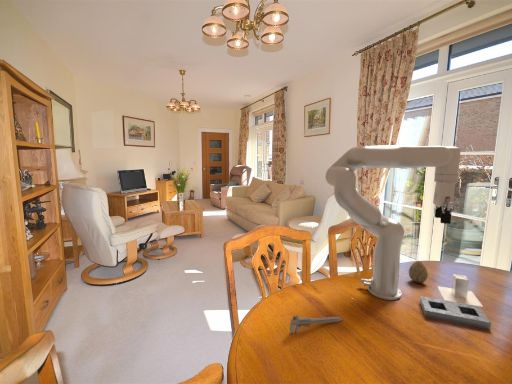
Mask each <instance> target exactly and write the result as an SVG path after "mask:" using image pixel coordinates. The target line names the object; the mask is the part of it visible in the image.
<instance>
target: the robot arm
mask: <svg viewBox="0 0 512 384" xmlns="http://www.w3.org/2000/svg"><path fill="white" fill-rule="evenodd" d="M460 158H461V149H460V147H458V146H445V145H434V146H433V145H432V146H431V145H428V146H427V145H426V146H424V145H423V146H419V145H416V146H414V145H413V146H412V145H411V146H410V145H362V146H354V147H352V148H350V149H348V150H347V151H346V152H345V153H343V155H342V156H341V157H340V158H338V159H337V160H336V161H335V162H334V163H332V165H331V166H329V168H328V169H327V170H326V172H325V181H326V183H327V184H329V186H332V187H334V190H333V191H334V192H333V193H334V198H335V201H336V203H337V204H338V205H339V206H340V207H341V208H342V209H343V210H344V211H345V212H346V213H347V215H348V216H349V218H350V219H351V220H353V221H354V222H355V223H356V224H357V225H359V226H360V227H361V228H363V229H364V230H366V231H367V232H368V233H370V234H371V235H372V236H375V237H376V238H377V240H376V243H375V245H374V248H373V263H372V264H373V265H372V266H373V267H372V268H373V271H372V277H371V278H369V279H367V278H362V277H361V279H360V283H361V284H363V286H365V287H367V290H368V292H369V293H370V294H371V295H372V296H374V297H376V298H379V299H382V300H388V301H394V300H395V301H396V300H399V299H401V297H402V296H403V293H402V290H401V289H400V288H399V276H400V264H401V263H400V261H401V260H400V259H401V250H402V244H403V240H404V237H405V229H404V228H405V227H403V226H404V225H402V223H400V221H399V220H396V219H394V218H392V217H389V216H387V215H385V214H383V213H381V210H380V209H379V208H378V207H377V205H376V204H374V203H372V202H370V201H369V200H368V199H367V198H366V197H364V196H362V194H361V193H359V192H358V190H357V187H356V186H357V183H356V182H357V176H356V172H355V171H356V170H357V169H358V168H359V169H390V168H391V169H397V168H398V169H400V168H401V169H402V168H403V169H404V168H430V167H431V168H432V167H433V168H435V169H434V182H435V187H434V193H433V201H432V203H433V204H434V205H435V208H434V218H437V219H440V223H441V224H450V225H451V223H452V212H453V211H452V208H453V206H454V200H455V184H457V183H458V182H459V172H460V171H459V170H460V160H461V159H460Z"/></svg>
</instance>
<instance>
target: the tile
mask: <svg viewBox="0 0 512 384" xmlns="http://www.w3.org/2000/svg"><path fill="white" fill-rule="evenodd" d="M436 289H438V291H439V293H440V295H441V297H442V298H443V299H442V300H445V301H451V302H457V303H463V304H469V305H474V306H479V307H480V308H484V306H483V305H482V303H481V301H479V299H478V298H477V296H476V295H475V293H474V292H473V291H472V290H468V292H467V299H462V298H456V297H454V296H453V294H452V293H451V291H452V287H447V286H439V285H438V286H436Z"/></svg>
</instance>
